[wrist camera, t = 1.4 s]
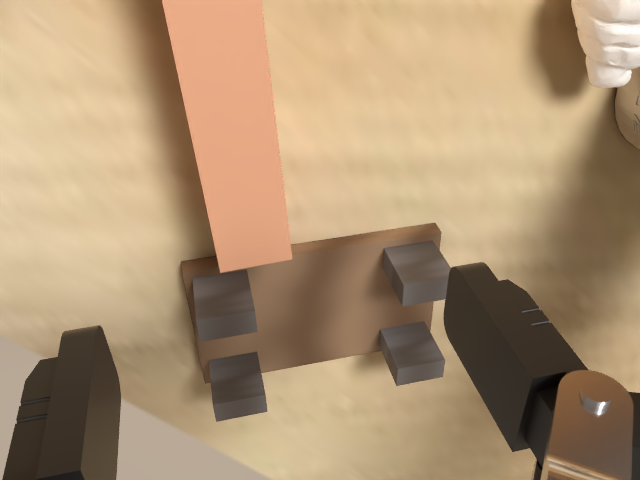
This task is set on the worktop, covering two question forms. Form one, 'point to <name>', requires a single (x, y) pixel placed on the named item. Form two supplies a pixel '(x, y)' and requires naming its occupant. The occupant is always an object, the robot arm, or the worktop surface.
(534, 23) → the worktop surface
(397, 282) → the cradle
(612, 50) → the garlic bulb
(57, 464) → the robot arm
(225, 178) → the terracotta clay brick
